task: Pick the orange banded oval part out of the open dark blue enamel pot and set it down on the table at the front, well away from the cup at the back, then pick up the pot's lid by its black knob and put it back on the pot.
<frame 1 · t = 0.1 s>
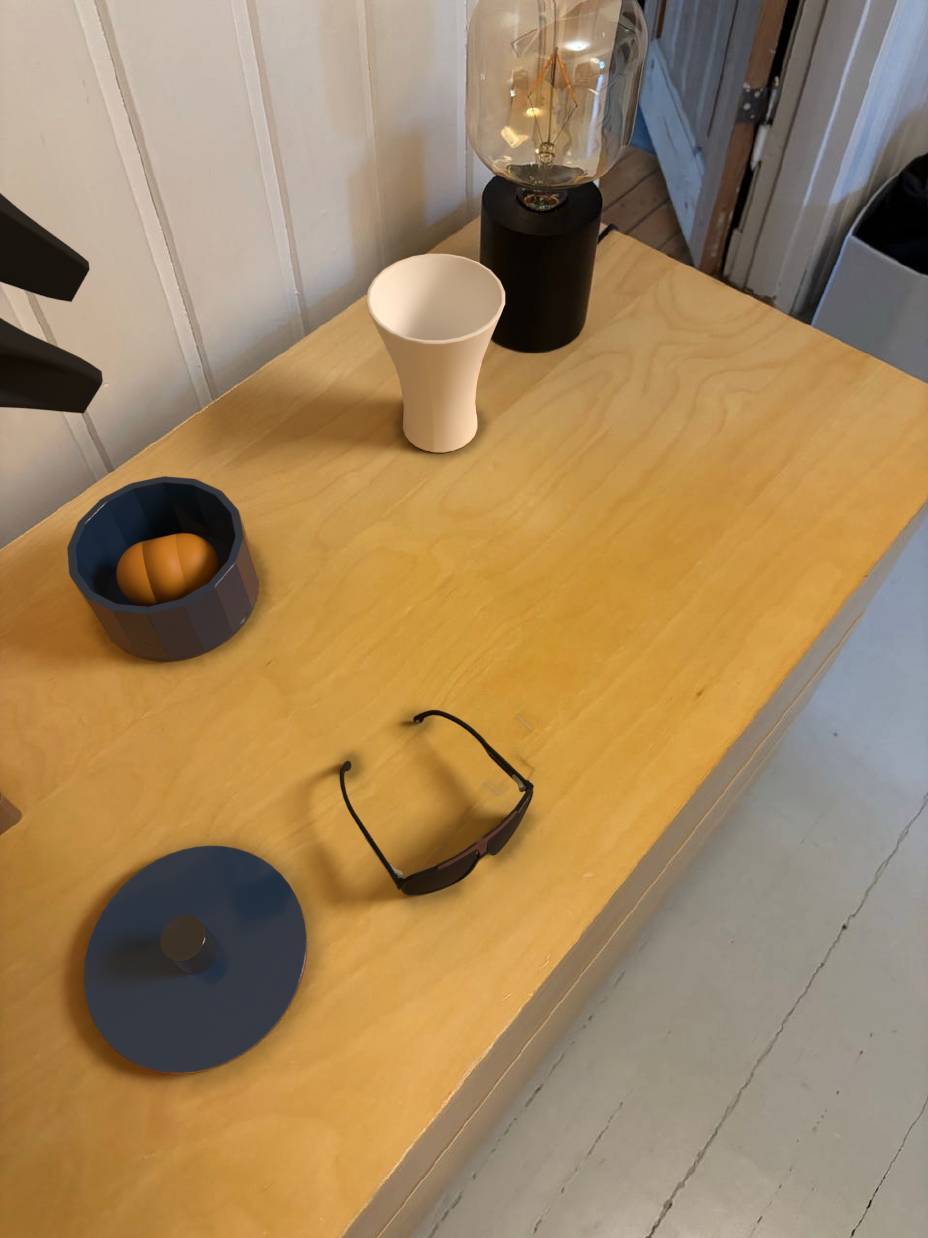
hand: (86, 334, 42), 31 cm above the dresser top, tool tilted 50°, fingers open, 7 cm apart
sunglasses: (430, 805, 63), on the dresser top
pot: (179, 593, 72), on the dresser top
orange banded oval part: (177, 589, 71), resting on pot
cup: (440, 427, 82), on the dresser top
lid: (198, 954, 57), point 1 cm above the dresser top
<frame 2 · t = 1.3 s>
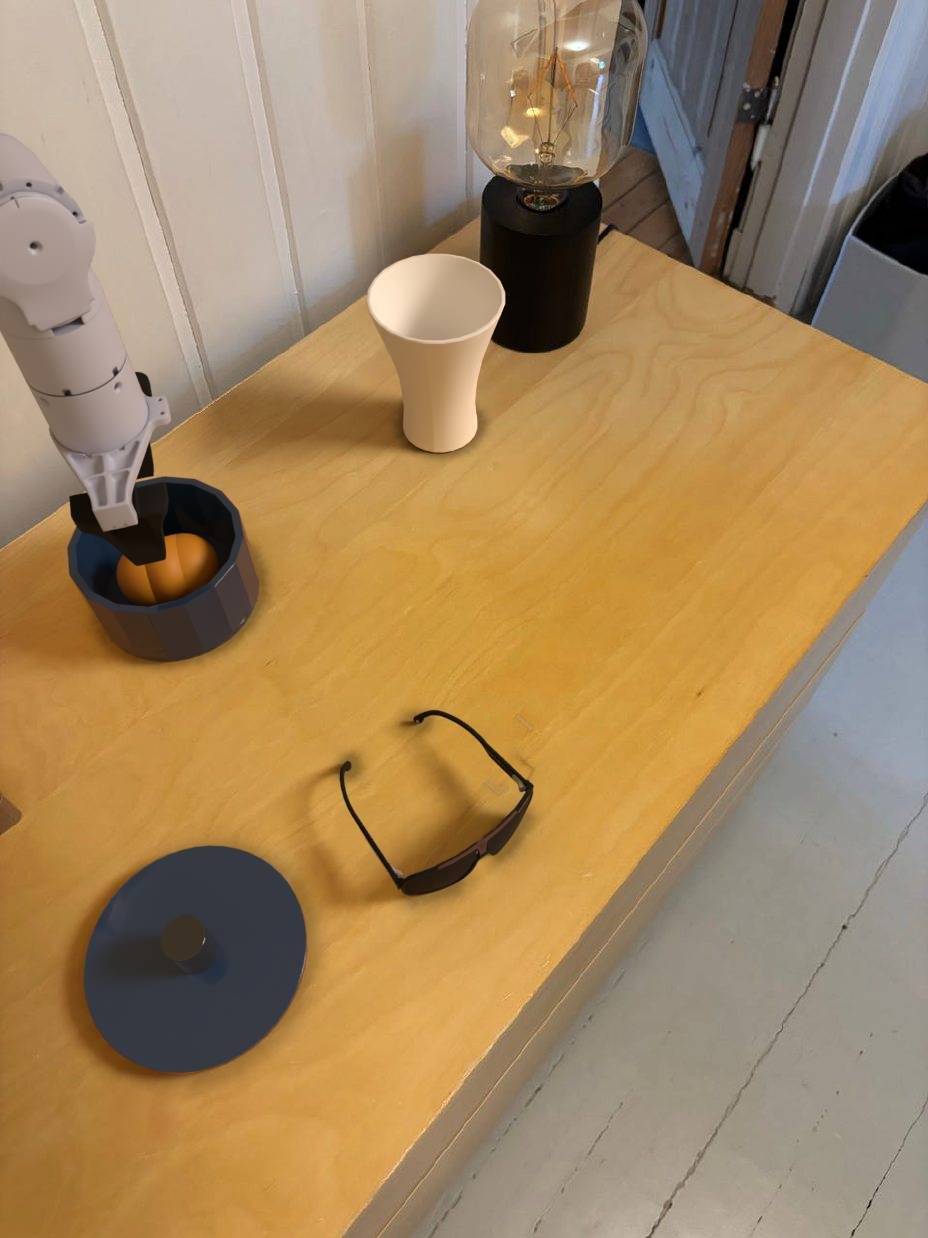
hand: (144, 516, 64), 9 cm above the dresser top, tool pointing down, fingers open, 7 cm apart
nothing on the dresser top moved.
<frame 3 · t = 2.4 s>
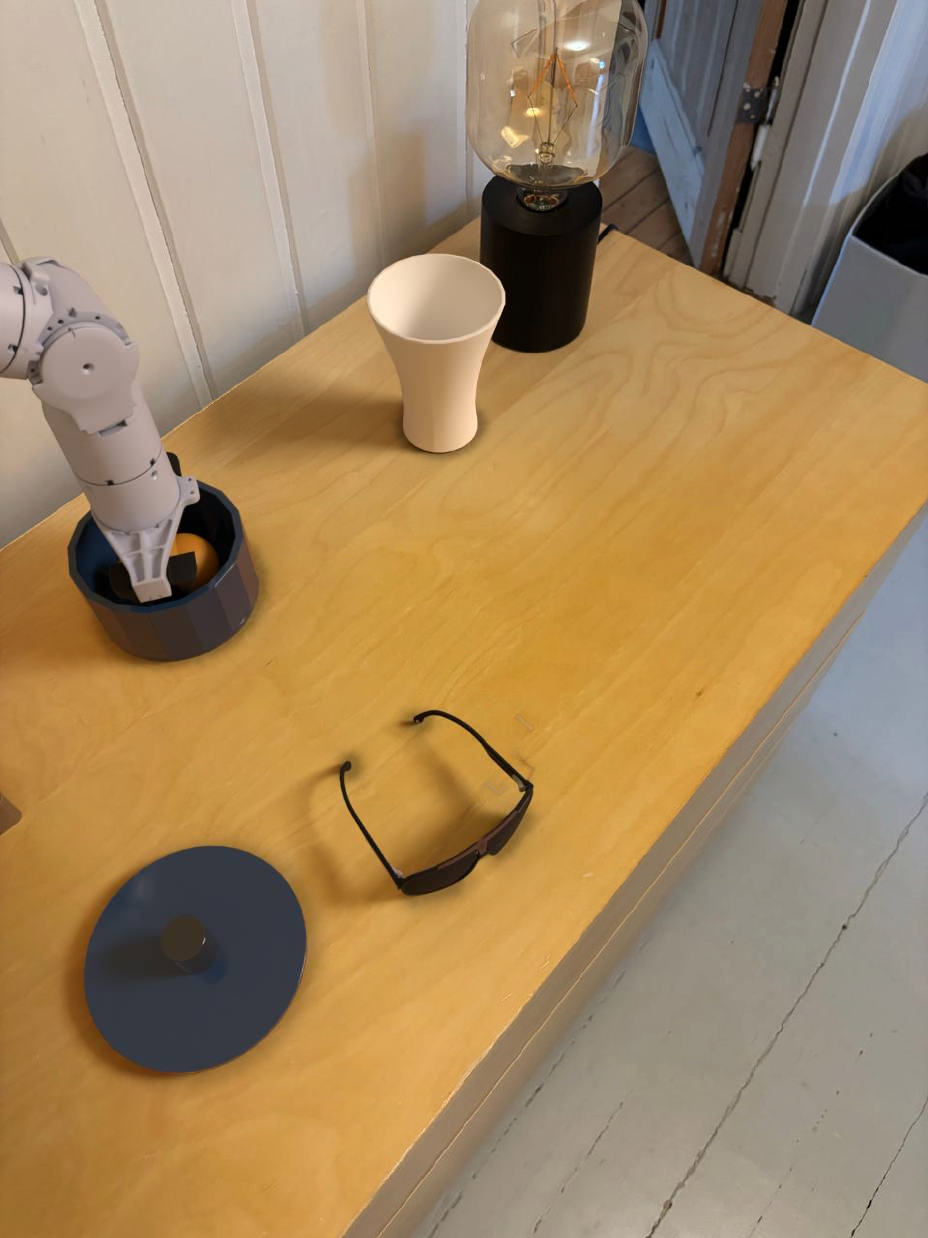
hand: (173, 578, 70), 2 cm above the dresser top, tool pointing down
nothing on the dresser top moved.
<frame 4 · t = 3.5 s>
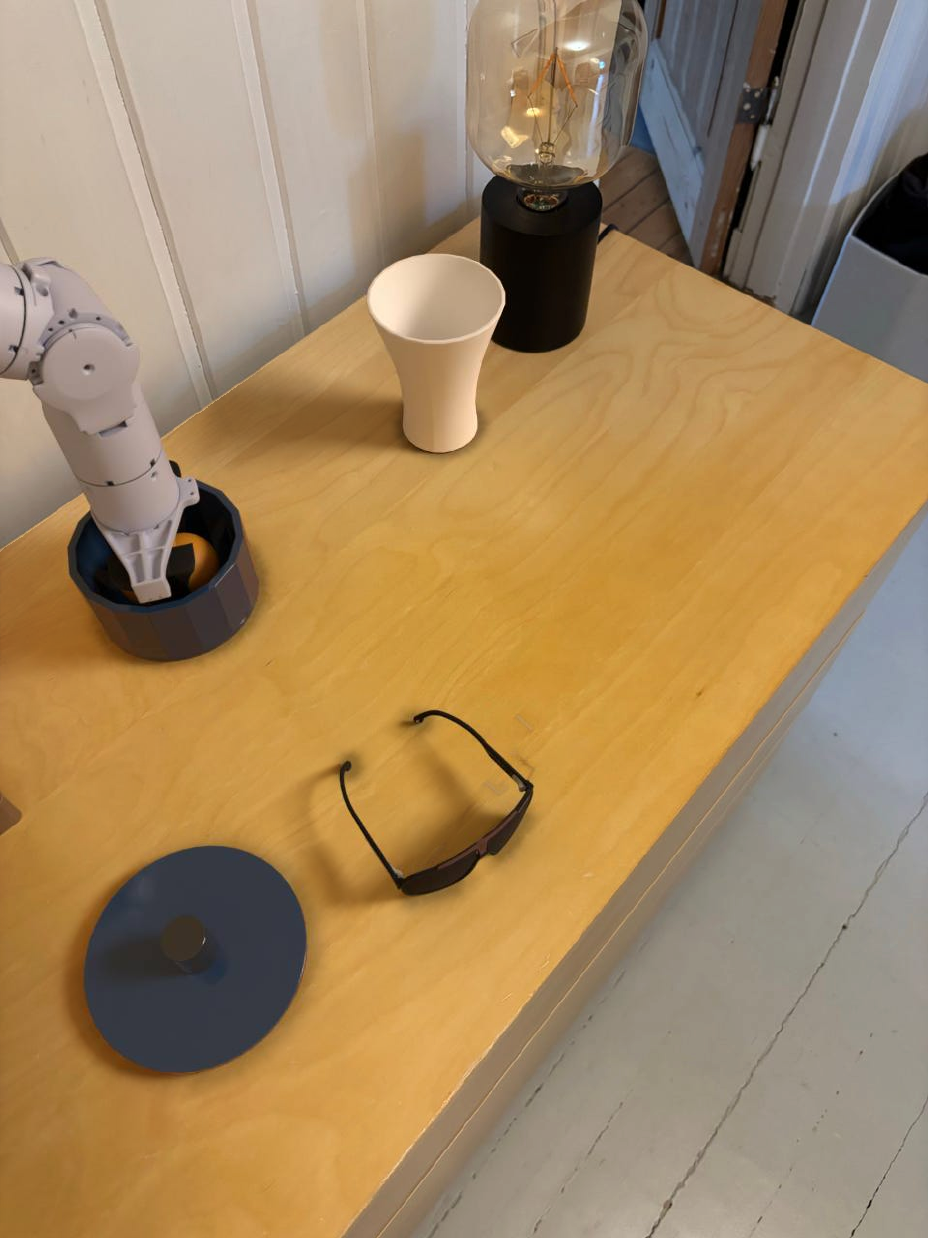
hand: (172, 579, 70), 2 cm above the dresser top, tool pointing down, fingers closed on orange banded oval part, 5 cm apart
orange banded oval part: (177, 589, 71), point 1 cm above the dresser top, touching gripper
everything else where it was.
when the fingers open (1 cm above the dresser top, at t = 8.0 s): orange banded oval part stays where it is, on the dresser top.
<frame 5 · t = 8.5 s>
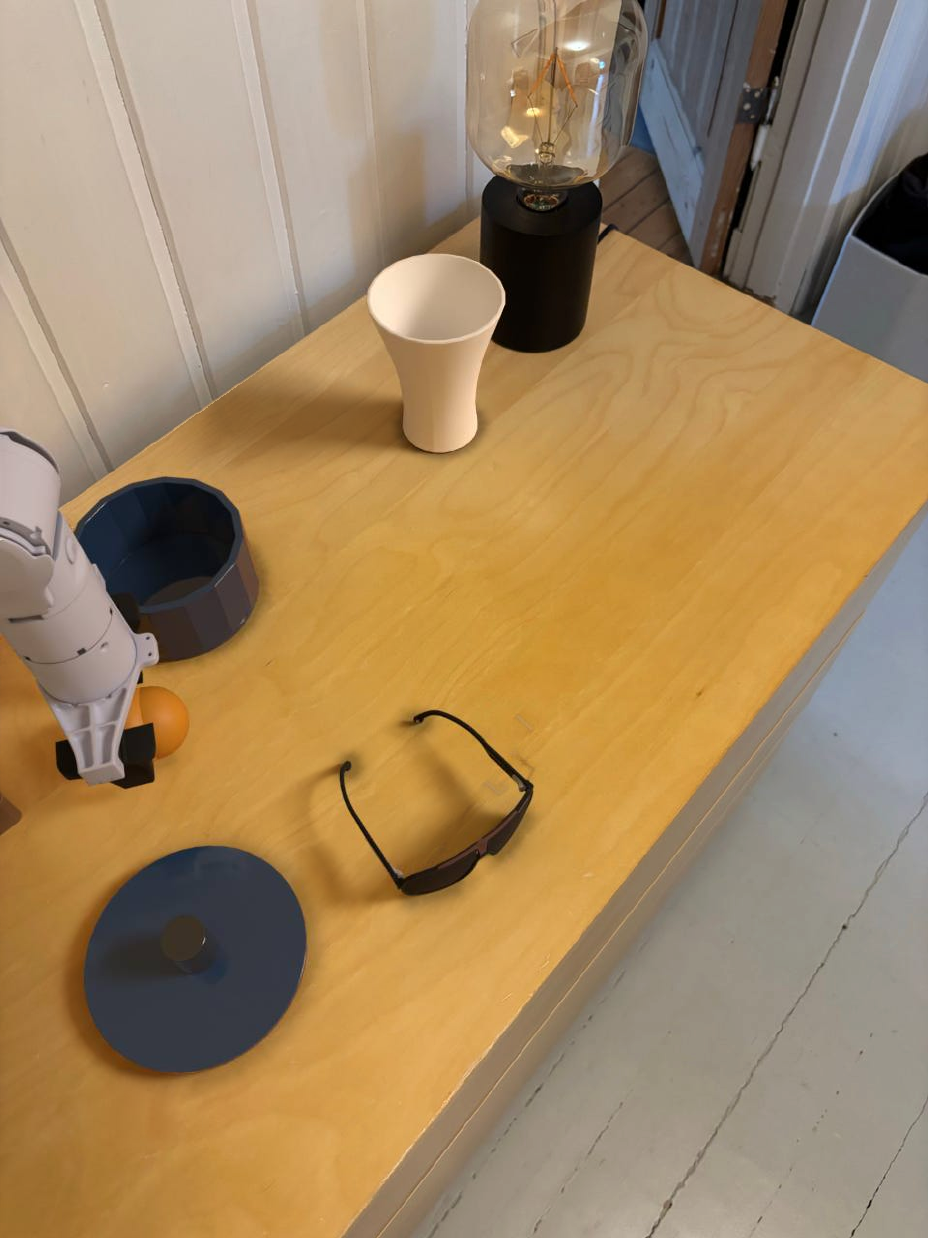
hand: (133, 730, 63), 2 cm above the dresser top, tool pointing down, fingers open, 7 cm apart
orange banded oval part: (143, 742, 65), on the dresser top
everything else where it was.
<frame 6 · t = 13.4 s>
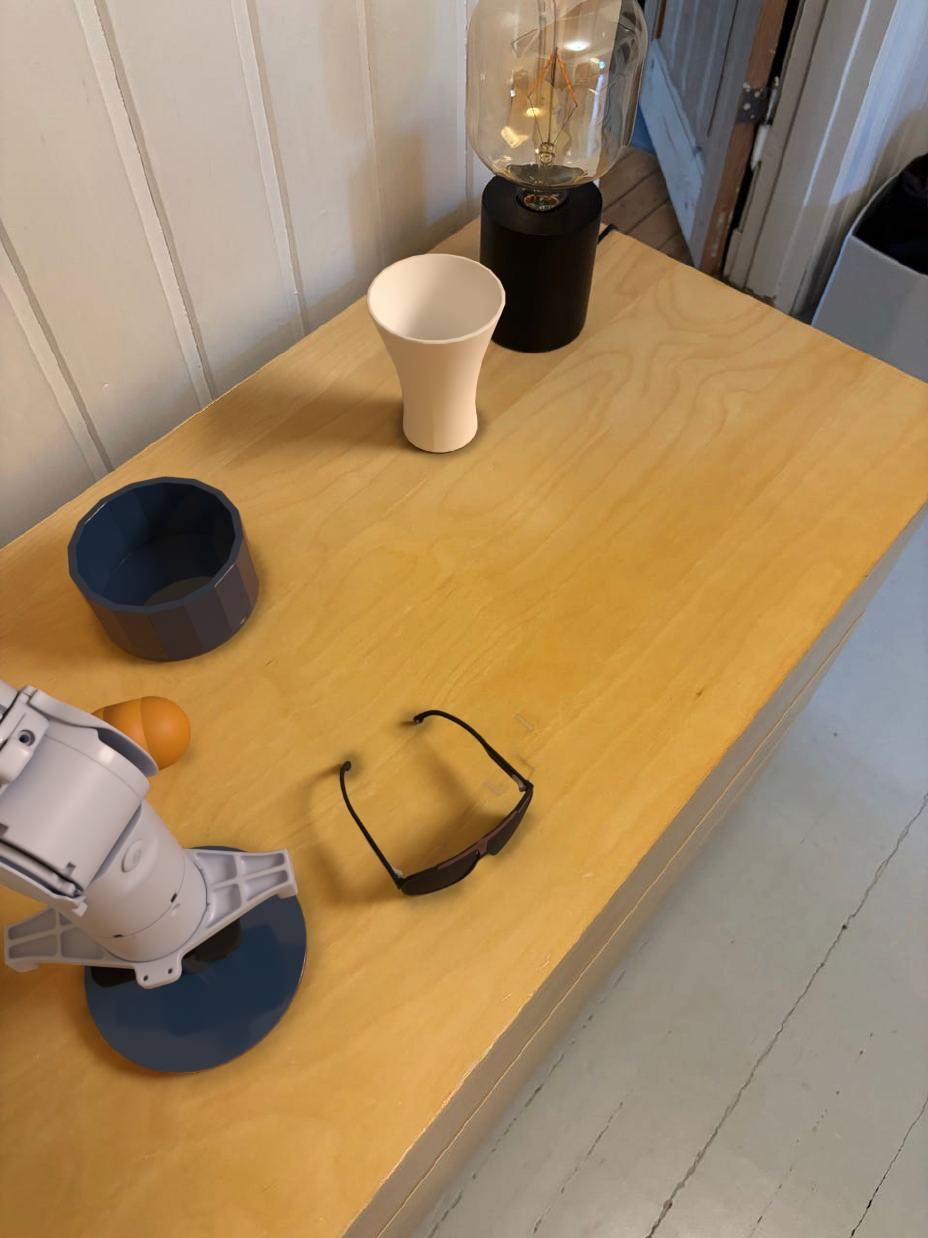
hand: (193, 949, 56), 2 cm above the dresser top, tool pointing down, fingers closed on lid, 2 cm apart
orange banded oval part: (142, 741, 65), on the dresser top, tilted 21°
lid: (198, 954, 57), point 1 cm above the dresser top, touching gripper
everything else where it was.
when the fingers open (7 cm above the dresser top, at t = 18.1 s): lid stays where it is, resting on pot.
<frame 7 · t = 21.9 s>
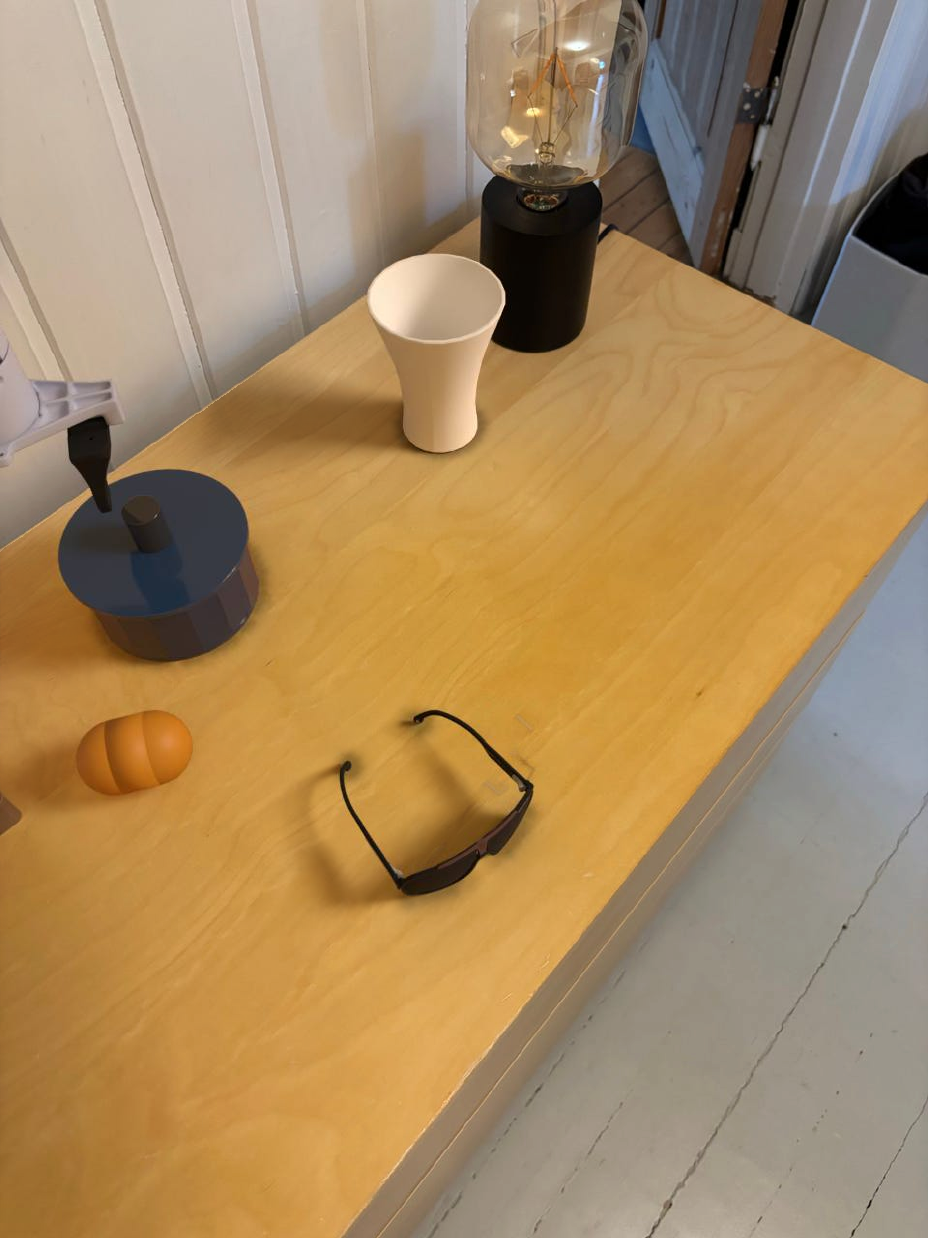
hand: (47, 513, 63), 10 cm above the dresser top, tool pointing down, fingers open, 7 cm apart
orange banded oval part: (140, 740, 64), point 1 cm above the dresser top, tilted 46°
lid: (155, 543, 66), point 6 cm above the dresser top, touching pot
everything else where it was.
at the end: lid 0.2 cm off-centre on the pot, point 6.5 cm above the pot's base; lid tilted 0° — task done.
